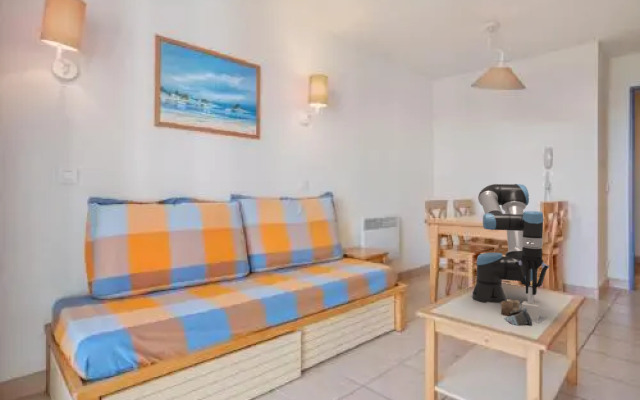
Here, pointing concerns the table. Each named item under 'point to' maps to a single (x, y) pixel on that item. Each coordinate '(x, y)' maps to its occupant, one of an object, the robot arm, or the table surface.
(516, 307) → the beech cube
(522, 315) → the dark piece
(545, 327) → the table surface
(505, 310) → the walnut cylinder
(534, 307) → the plain block
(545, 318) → the mat
